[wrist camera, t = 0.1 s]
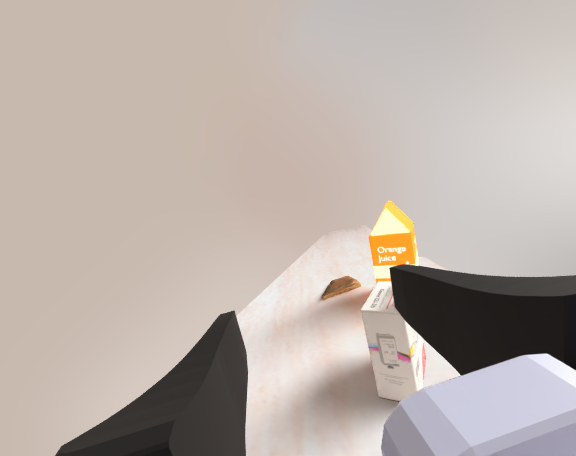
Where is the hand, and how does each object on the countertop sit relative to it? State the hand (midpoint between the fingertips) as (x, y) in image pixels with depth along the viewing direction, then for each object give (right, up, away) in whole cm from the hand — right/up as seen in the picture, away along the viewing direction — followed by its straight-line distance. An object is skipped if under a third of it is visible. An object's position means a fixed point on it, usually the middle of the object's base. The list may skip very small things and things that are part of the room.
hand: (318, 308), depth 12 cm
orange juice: (+23, -11, +44) cm, 51 cm away
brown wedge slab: (+13, -12, +54) cm, 57 cm away
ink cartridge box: (+14, -16, +23) cm, 31 cm away
